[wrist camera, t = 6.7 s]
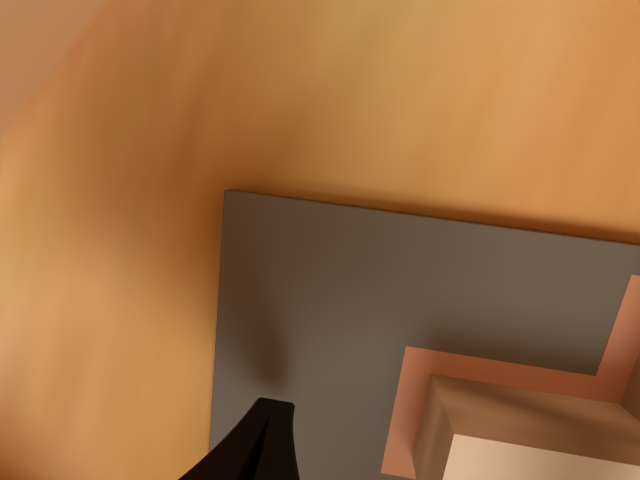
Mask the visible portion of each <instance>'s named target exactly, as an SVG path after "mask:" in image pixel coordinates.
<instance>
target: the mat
mask: <svg viewBox="0 0 640 480" xmlns="http://www.w3.org/2000/svg"><path fill="white" fill-rule="evenodd" d="M639 352H640V244H634V243H626V242H619V241H611V240H604V239H596V238H589V237H581V236H574V235H566V234H559V233H552V232H544V231H537V230H529V229H522V228H514V227H507V226H499V225H492V224H484V223H477V222H469V221H462V220H454V219H447V218H439V217H432V216H424V215H417V214H410V213H402V212H395V211H387V210H380V209H372V208H365V207H357V206H350V205H342V204H335V203H327V202H320V201H312V200H305V199H297V198H290V197H282V196H275V195H267V194H260V193H253V192H245V191H238V190H225V191H224V208H223V225H222V242H221V260H220V277H219V294H218V311H217V329H216V346H215V363H214V380H213V398H212V415H211V432H210V449H209V452H210V451H211V450H212V449H213V448H214V447H215V446H217V445H218V444H219V443H220V442H221V441H222V440H223V439H224V438H225V437H226V435H227V434H228V433H229V432H230V431H231V430H232V429H233V428H234V427H235V426H236V425H237V423H238V422H239V421H240V420H241V419H242V418H243V417H244V415H245V414H246V413H247V412H248V410H249V409H250V408H251V407H252V405H253V404H254V403H255V401H256V400H257V399H258V398H260V397H263V398H269V399H275V400H280V401H286V402H292V403H293V404H294V405H295V410H294V418H293V435H294V445H295V454H296V461H297V466H298V472H299V477H300V480H417V479H416V474H415V470H414V465H413V460H412V456H413V452H414V447H415V443H416V438H417V434H418V429H419V425H420V420H421V416H422V411H423V407H424V402H425V398H426V393H427V389H428V384H429V380H430V375H431V374H437V375H443V376H450V377H456V378H462V379H468V380H474V381H480V382H486V383H492V384H498V385H504V386H511V387H517V388H523V389H529V390H535V391H541V392H547V393H553V394H559V395H565V396H572V397H578V398H584V399H590V400H596V401H602V402H608V403H614V404H620V402H621V399H622V397H623V394H624V391H625V389H626V386H627V383H628V381H629V378H630V375H631V373H632V370H633V367H634V365H635V362H636V360H637V357H638V354H639Z"/></svg>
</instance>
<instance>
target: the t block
mask: <svg viewBox="0 0 640 480" xmlns="http://www.w3.org/2000/svg"><path fill="white" fill-rule="evenodd" d="M412 460H413V465H414V470H415V474H416V479H417V480H640V352H639V354H638V357H637V360H636V362H635V365H634V367H633V370H632V373H631V375H630V378H629V381H628V383H627V386H626V389H625V391H624V394H623V397H622V399H621V402H620V404H614V403H608V402H602V401H596V400H590V399H584V398H578V397H572V396H565V395H559V394H553V393H547V392H541V391H535V390H529V389H523V388H517V387H511V386H504V385H498V384H492V383H486V382H480V381H474V380H468V379H462V378H456V377H450V376H443V375H437V374H431V375H430V380H429V384H428V389H427V393H426V398H425V402H424V407H423V411H422V416H421V420H420V425H419V429H418V434H417V438H416V443H415V447H414V452H413V456H412Z"/></svg>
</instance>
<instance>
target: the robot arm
mask: <svg viewBox="0 0 640 480" xmlns="http://www.w3.org/2000/svg"><path fill="white" fill-rule="evenodd" d="M294 410H295V405H294V404H293V403H292V402H286V401H280V400H275V399H269V398H263V397H260V398H258V399H257V400H256V401H255V403H254V404H253V405H252V407H251V408H250V409H249V410H248V412H247V413H246V414H245V415H244V417H243V418H242V419H241V420H240V421H239V422H238V423H237V425H236V426H235V427H234V428H233V429H232V430H231V431H230V432H229V433H228V434H227V435H226V437H225V438H224V439H223V440H222V441H221V442H220V443H219V444H218V445H217V446H215V447H214V448H213V449H212V450H211V451H210V452H209V453H208V454H207V455H206V456H205V457H204V458H203V459H202V460H201V461H200V462H199V463H197V464H196V465H195V466H194V467H193V468H192V469H190V470H189V471H188V472H187V473H186V474H184V475H183V476H182V477H181V478H179V479H178V480H300V477H299V472H298V466H297V461H296V454H295V445H294V435H293V418H294Z"/></svg>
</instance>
